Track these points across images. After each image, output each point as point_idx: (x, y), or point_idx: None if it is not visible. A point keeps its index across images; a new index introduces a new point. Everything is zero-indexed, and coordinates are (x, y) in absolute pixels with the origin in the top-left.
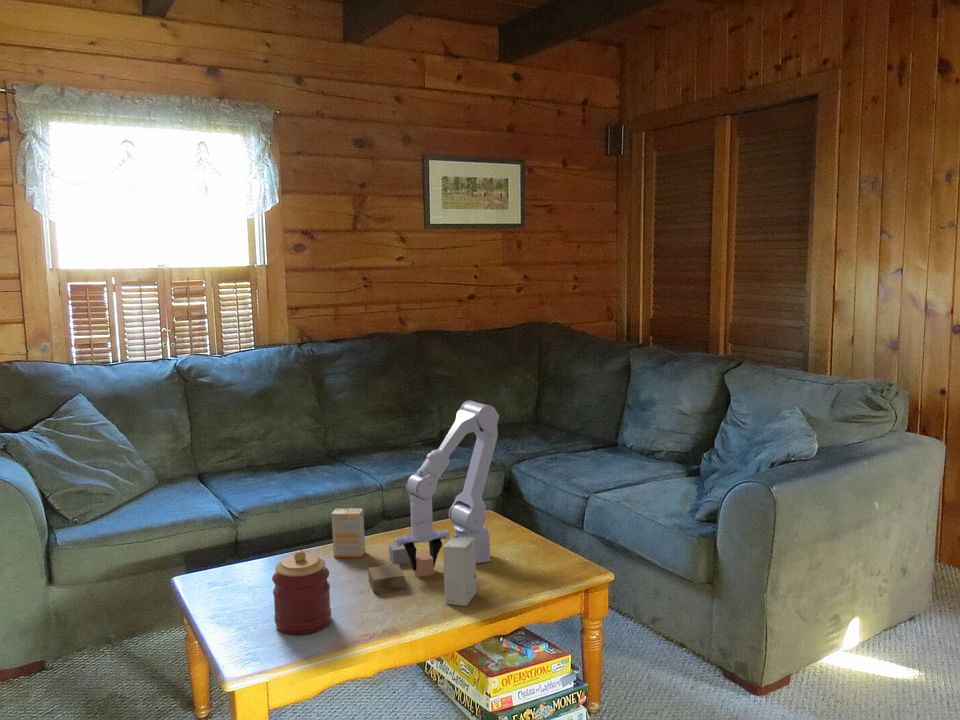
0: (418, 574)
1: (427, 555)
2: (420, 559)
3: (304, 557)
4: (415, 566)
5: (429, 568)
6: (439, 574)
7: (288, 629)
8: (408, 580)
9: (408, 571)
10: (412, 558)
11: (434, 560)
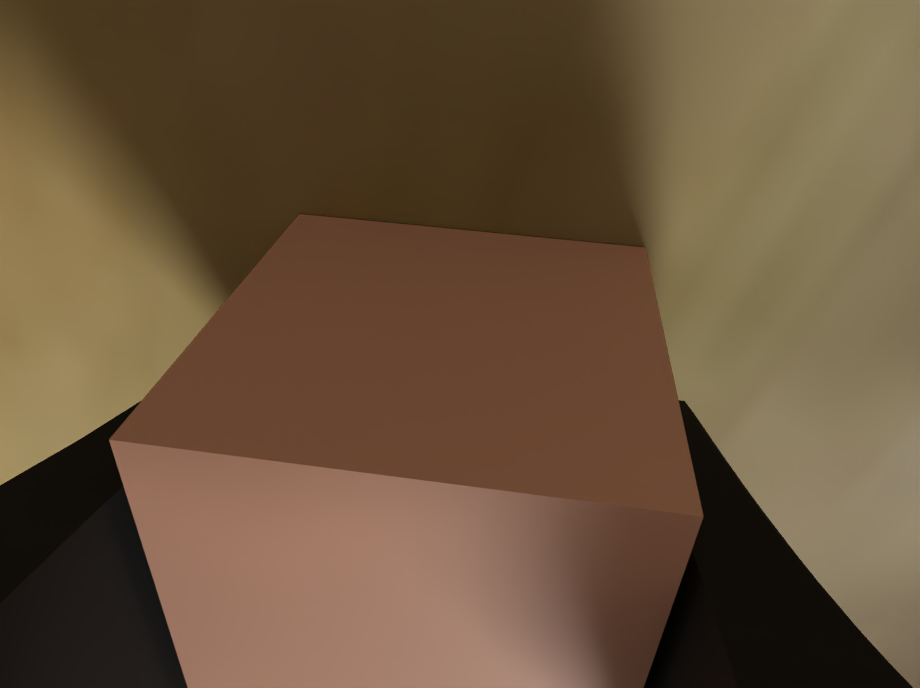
0: (624, 273)
1: (255, 655)
2: (529, 561)
3: None
4: None
5: (343, 292)
6: (188, 176)
7: None
8: (899, 193)
9: None
10: (858, 673)
11: None
